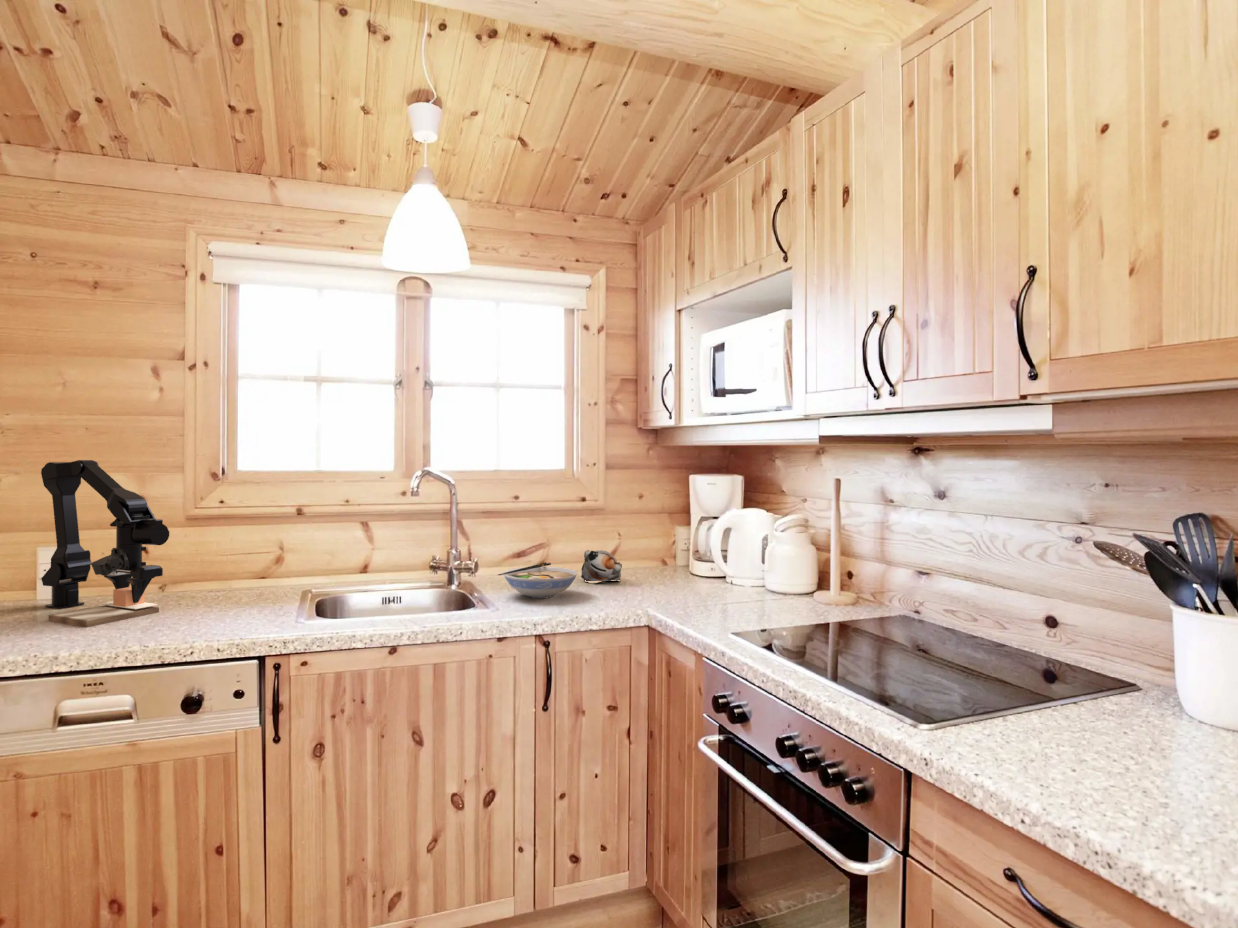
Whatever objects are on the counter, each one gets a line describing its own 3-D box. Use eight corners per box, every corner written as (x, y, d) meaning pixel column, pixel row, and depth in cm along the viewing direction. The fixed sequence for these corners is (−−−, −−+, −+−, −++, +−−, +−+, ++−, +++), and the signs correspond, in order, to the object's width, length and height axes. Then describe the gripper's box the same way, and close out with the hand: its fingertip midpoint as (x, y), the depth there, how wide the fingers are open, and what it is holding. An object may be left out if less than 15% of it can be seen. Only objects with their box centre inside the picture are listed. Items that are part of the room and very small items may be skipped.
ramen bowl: (545, 608, 201) (545, 579, 201) (484, 598, 213) (485, 571, 213) (593, 594, 222) (594, 568, 222) (536, 585, 234) (536, 561, 234)
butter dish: (100, 604, 189) (100, 588, 189) (123, 600, 194) (123, 584, 194) (135, 609, 184) (135, 593, 184) (157, 604, 189) (158, 589, 189)
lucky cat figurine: (627, 579, 248) (631, 547, 241) (611, 598, 238) (616, 565, 231) (589, 564, 253) (593, 532, 246) (573, 582, 243) (576, 549, 237)
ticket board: (48, 620, 178) (48, 614, 178) (122, 606, 195) (122, 601, 195) (86, 626, 172) (86, 620, 172) (159, 612, 189) (159, 606, 189)
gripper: (74, 544, 185) (74, 604, 185) (121, 549, 178) (120, 611, 178) (118, 540, 195) (118, 596, 195) (164, 544, 188) (164, 602, 188)
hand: (129, 601), depth 189 cm, fingers closed on butter dish, 5 cm apart
